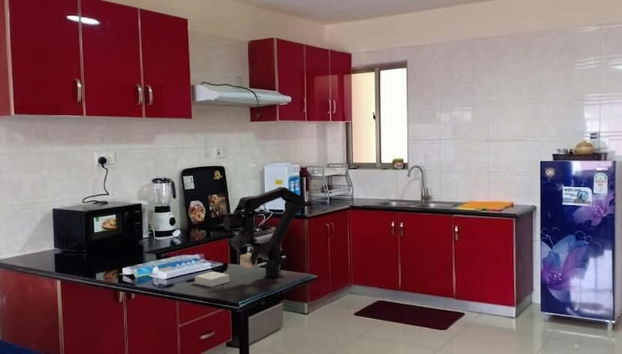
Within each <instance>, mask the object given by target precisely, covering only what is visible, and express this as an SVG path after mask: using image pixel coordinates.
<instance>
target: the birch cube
mask: <svg viewBox="0 0 622 354" xmlns="http://www.w3.org/2000/svg"><path fill="white" fill-rule="evenodd" d="M239 264H240V265H239V266H240V268H244V269H252V268H255V267H257V266H258V259H257V260H256V262H255V264H254V265H252V258H251V252H250V253H249V252H247V254H243V255H240V254H239Z"/></svg>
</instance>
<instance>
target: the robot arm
mask: <svg viewBox="0 0 622 354" xmlns="http://www.w3.org/2000/svg"><path fill="white" fill-rule="evenodd" d="M278 199H282V201H284V211H283V213H282V215H281V217H280V219H279V221H278V223H277V225H276V226H275V229H274V231H273V233H272V235H271V237H270V238H269V239H268V240H259V241H258V239H257V238H256V233H257V232H258V229H257V228H256V226H255V225H256V224H255V223H256V222H255V221H256V219H255V217H259V216H260V214H259V213H258V212H257V211H256V210H258V209H260V207H261V206H262V205H264V204H267V203H270V202H273V201H276V200H278ZM305 204H306V200H305V197H304V195H302V194H298V193H296V192H294V191H292V190H291V189H289V188H287V187H285V186H284V187H283V186H279V187H277V188H274V189H271V190H269V191H266V192H263V193H260V194H258V195H251V196H249V195H248V196H243V197H241V198H239V200H238V203H237V205H236V207H235V209H234V211H233V212H232V213H231V212H229V213H228V212H226V213H225V216H224V218H223V221H222V225H223V227H224V229H225V230H226V231H230V230H231V231H232V230H238V229H239V231H238V234H237V235H234V237H232V238H229V239H228V241H227V242H228V243H227V244H228V245H227V246H229V247H232V248H233V249H234V250H236V251H237V252H238V254H239V256H240V255H243V254H247V253H248V250H249V252H250V254H251V258H252V265H254V264H255V262H256V260H257V261H258V257H259V256H260V258H261V259H262V262H263V263H265V275H263V276H262V278H266V279H271V280H276V279H279V278H283V277H284V275H283V274H282V273H281V272H282V271H281V269H282V267H281V265H283V264H284V262H285V259H284V257H283V256H281V244H282V242H283V239H284V237H285V235H286V233H287V231H288V229H289V227H290V225H291V223H292V221H293V219H294V217H295V216H296V214H298V213H299V212H300V211H301V210H302V208H303V207H304V206H305ZM248 247H251V249H249V248H248Z"/></svg>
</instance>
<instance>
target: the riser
mask: <svg viewBox="0 0 622 354" xmlns="http://www.w3.org/2000/svg"><path fill="white" fill-rule="evenodd" d="M228 282H230V275H229V274H227V273H223V272H222V273H221V272H218V271H210V272H206V273H202V274H198V275H196V276H195V275H194V284H197V285H201V286H206V287H209V288H210V287H211V288H212V287H215V286H219V285H223V284H225V283H228Z"/></svg>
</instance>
